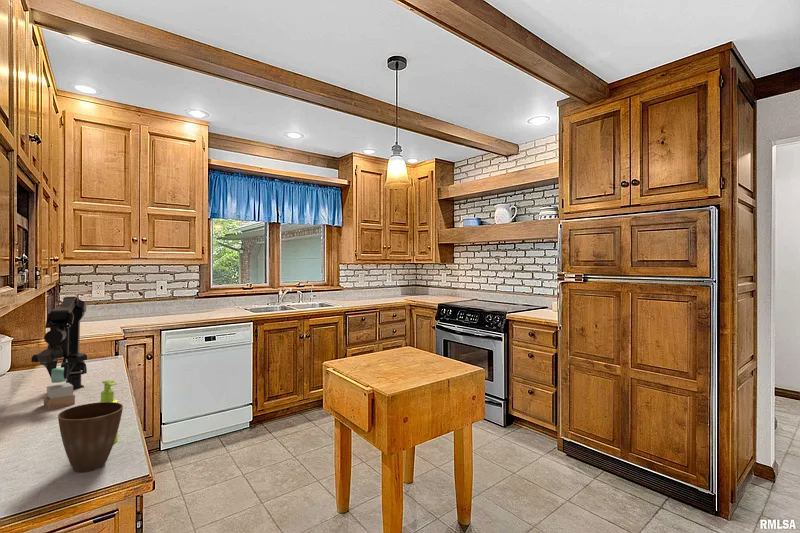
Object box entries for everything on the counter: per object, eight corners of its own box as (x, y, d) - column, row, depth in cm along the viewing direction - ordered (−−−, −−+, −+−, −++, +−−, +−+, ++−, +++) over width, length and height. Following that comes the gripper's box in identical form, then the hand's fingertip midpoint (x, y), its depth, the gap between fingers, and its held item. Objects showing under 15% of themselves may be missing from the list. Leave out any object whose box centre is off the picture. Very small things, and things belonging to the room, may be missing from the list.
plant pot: (124, 450, 129) (125, 399, 129) (118, 471, 115) (119, 414, 116) (63, 460, 121) (64, 406, 122) (49, 484, 108) (51, 422, 108)
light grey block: (46, 395, 169) (46, 386, 169) (68, 392, 175) (68, 382, 175) (51, 399, 165) (51, 389, 165) (73, 395, 170) (73, 385, 170)
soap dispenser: (101, 449, 130) (103, 384, 130) (91, 443, 133) (93, 381, 133) (122, 442, 135) (123, 380, 135) (112, 437, 138) (113, 377, 138)
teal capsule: (49, 381, 170) (49, 369, 170) (64, 378, 174) (64, 366, 174) (53, 383, 167) (53, 370, 167) (68, 380, 171) (69, 368, 171)
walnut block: (43, 406, 169) (43, 396, 169) (67, 401, 175) (67, 391, 175) (50, 410, 164) (50, 400, 164) (74, 404, 171) (74, 395, 171)
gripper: (19, 343, 162) (18, 383, 162) (67, 344, 162) (66, 384, 162) (43, 338, 173) (42, 376, 173) (88, 339, 173) (87, 376, 173)
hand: (59, 378), depth 170 cm, fingers closed on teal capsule, 5 cm apart
